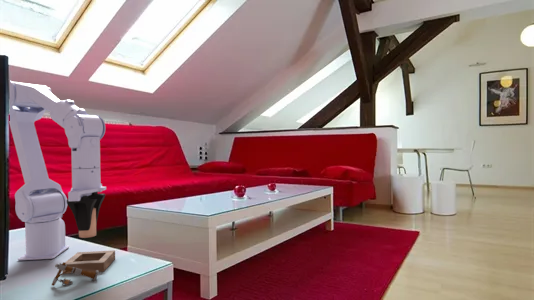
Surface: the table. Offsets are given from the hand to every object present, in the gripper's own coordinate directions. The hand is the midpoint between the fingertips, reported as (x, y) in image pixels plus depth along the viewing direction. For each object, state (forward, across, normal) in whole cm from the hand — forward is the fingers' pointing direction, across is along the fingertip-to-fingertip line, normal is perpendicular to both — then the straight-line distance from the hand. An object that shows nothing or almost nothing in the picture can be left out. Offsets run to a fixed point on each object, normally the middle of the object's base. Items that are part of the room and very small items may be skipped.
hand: (87, 228), depth 78 cm
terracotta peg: (+2, 0, 0) cm, 2 cm away
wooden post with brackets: (+9, -10, -1) cm, 13 cm away
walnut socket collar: (+9, 0, 0) cm, 9 cm away
